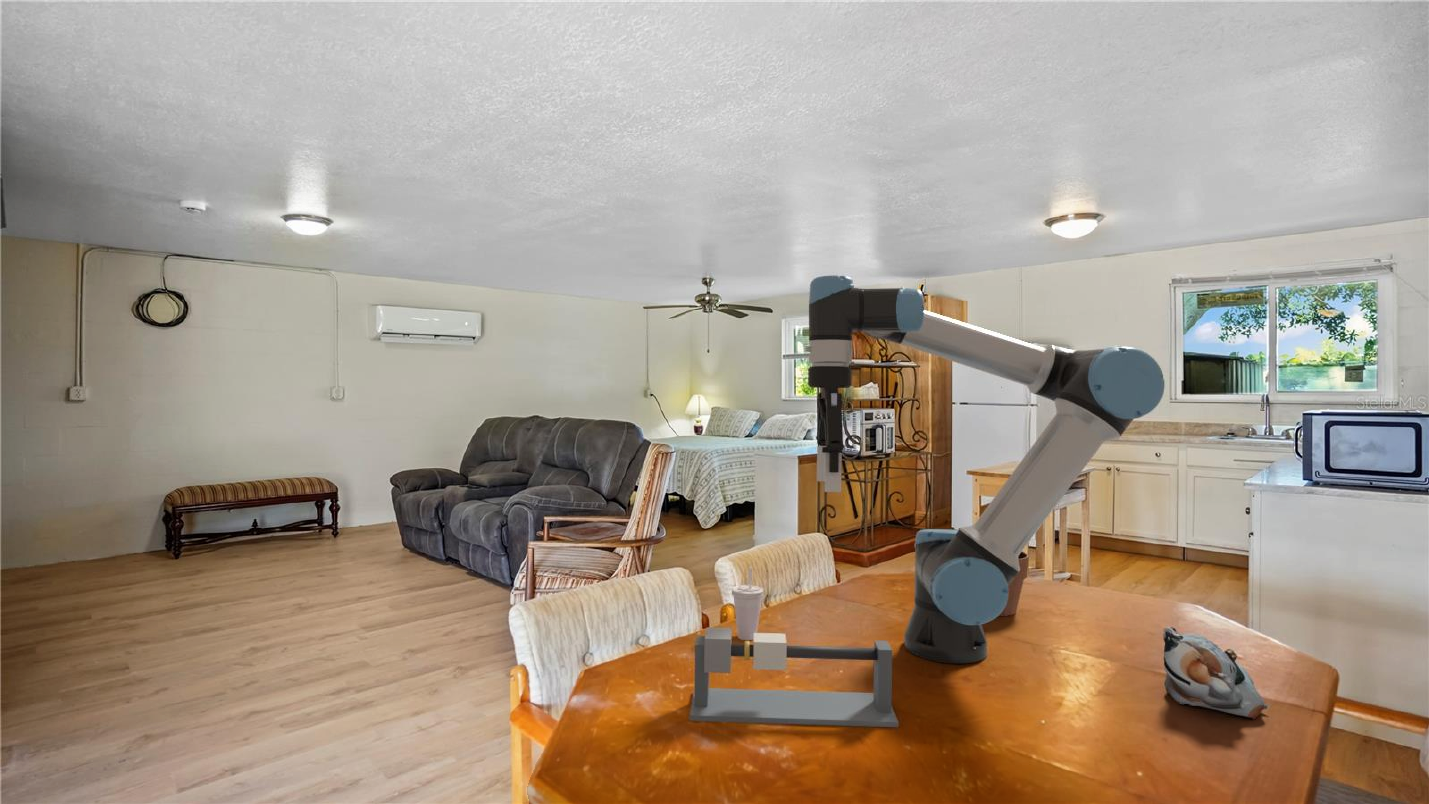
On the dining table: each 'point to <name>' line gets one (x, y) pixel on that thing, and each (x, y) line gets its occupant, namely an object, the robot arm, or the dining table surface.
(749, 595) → the smoothie
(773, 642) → the sleeve
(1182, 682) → the gray steam iron
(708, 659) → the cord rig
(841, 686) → the dining table surface
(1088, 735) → the dining table surface
